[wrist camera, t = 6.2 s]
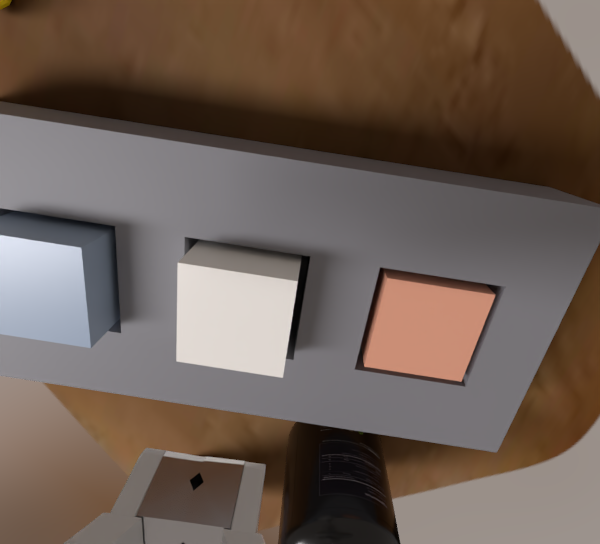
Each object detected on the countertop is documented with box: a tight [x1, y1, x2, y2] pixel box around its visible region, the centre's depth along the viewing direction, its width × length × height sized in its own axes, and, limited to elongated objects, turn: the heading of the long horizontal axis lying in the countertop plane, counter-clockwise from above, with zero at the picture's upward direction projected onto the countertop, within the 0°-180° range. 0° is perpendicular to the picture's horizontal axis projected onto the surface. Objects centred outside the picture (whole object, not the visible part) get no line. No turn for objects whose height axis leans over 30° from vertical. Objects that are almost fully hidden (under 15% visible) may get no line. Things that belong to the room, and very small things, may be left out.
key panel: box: [0, 101, 600, 452], centre depth 21 cm, size 30×14×5 cm, turn 82°
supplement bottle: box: [278, 422, 400, 544], centre depth 23 cm, size 7×7×12 cm
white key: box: [176, 239, 302, 378], centre depth 19 cm, size 5×5×4 cm
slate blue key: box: [0, 211, 120, 348], centre depth 19 cm, size 5×5×4 cm
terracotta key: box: [361, 267, 495, 382], centre depth 20 cm, size 5×5×4 cm
